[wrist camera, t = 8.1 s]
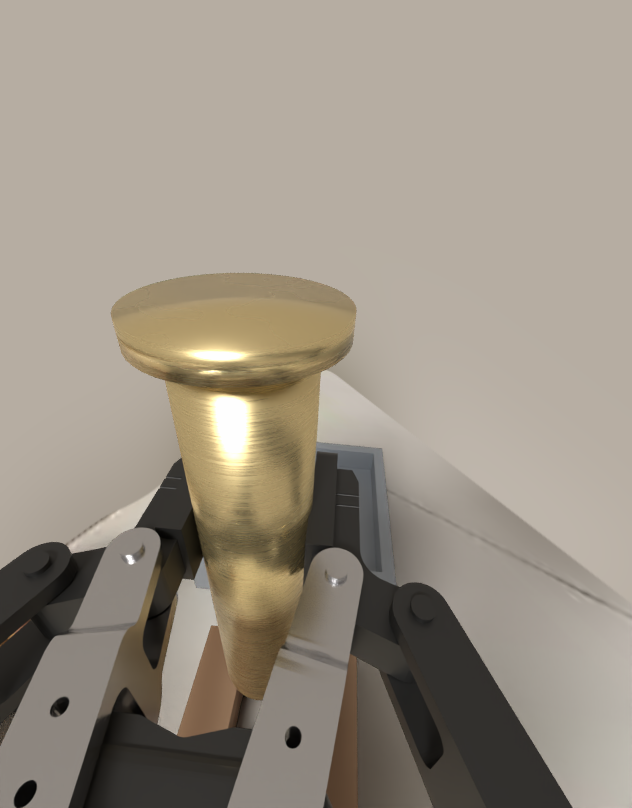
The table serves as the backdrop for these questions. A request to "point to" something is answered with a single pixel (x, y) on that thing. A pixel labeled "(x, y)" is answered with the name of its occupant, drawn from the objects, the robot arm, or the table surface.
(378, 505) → the slate tray
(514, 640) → the table surface
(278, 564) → the pin
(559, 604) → the table surface
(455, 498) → the table surface
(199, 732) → the socket block
